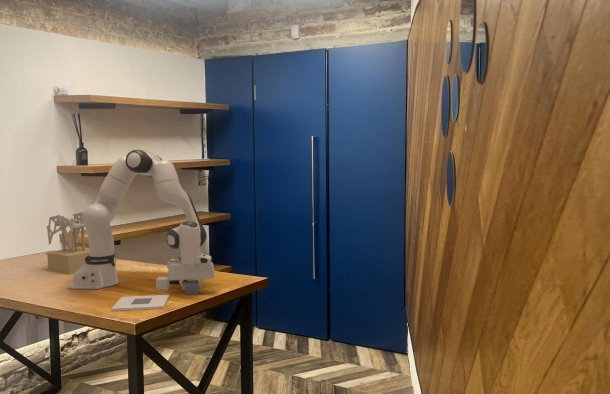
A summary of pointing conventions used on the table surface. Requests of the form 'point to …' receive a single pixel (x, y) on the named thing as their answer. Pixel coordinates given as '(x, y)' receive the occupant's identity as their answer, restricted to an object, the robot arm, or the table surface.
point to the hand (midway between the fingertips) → (192, 289)
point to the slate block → (191, 287)
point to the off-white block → (162, 283)
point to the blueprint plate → (141, 302)
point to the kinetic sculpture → (74, 256)
